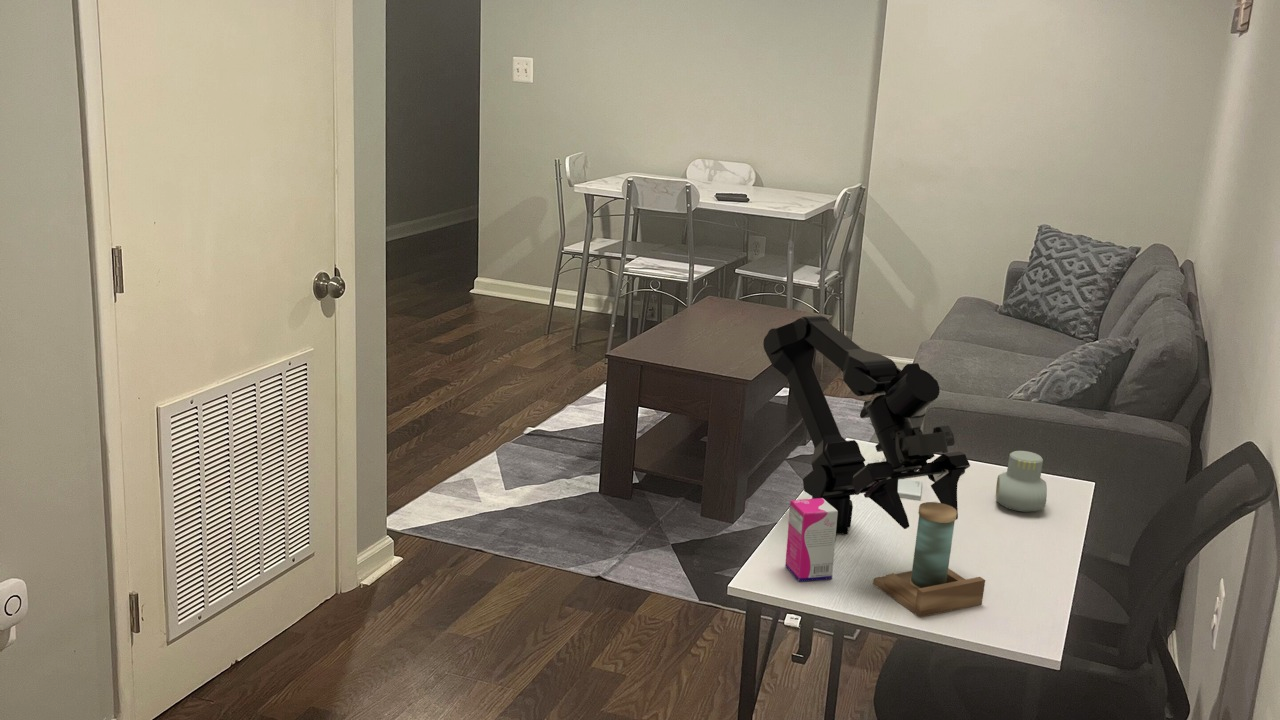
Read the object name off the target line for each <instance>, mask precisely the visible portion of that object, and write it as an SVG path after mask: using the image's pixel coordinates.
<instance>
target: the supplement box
mask: <svg viewBox="0 0 1280 720" xmlns="http://www.w3.org/2000/svg"><path fill="white" fill-rule="evenodd" d="M789 502H790V503H789V515H788V527H787V528H788V529H787V539H786V554H785V567H786V568H787V569H788V571H789V572H790V574H792V575H793V576H794V578H795V579H796V580H797V581H798V582H801V583H802V582H810V581H811V582H812V581H813V582H814V581H823V580H833V572H834V571H833V570H834V562H835V560H834V559H835V549H836V548H835V547H836V536H837V534H836V527H837V515H838V511H837V510H836V509H835V508H834V507H832V506H831V505H830V504H829V503H828V502H827V501H826V500H825V499H823V498H816V499H812V498H806V499H805V498H804V499H792V500H790V501H789Z"/></svg>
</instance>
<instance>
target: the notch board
mask: <svg viewBox="0 0 1280 720" xmlns="http://www.w3.org/2000/svg"><path fill="white" fill-rule="evenodd" d="M911 575H912V570H910V571H904V572H898V573H894V572H893V573H888V574H885V575H884V576H878V577H873V582H872V584H873V585H874V586H875V587H876V588H878V589H880V590H881V591H882V592H884V593H885V594H886V595H888V596H889V597H891V598H892V599H893V600H895V601H897V602H898V603H899V604H901V606H903V607H905V608H906V609H907V610H909V611H910V612H911V613H913V614H914V615H915V616H917V617H918V618H922V617H927V616H932V615H937V614H942V613H946V612H947V613H948V612H951V611H955V610H960V609H966V608H971V607H976V606H979V605H983V599H984V592H985V585H986V579H984V578H983V577H982V576H976V577H971V578H964V577H963V576H961V575H960V574H958V573H957V572H955V571H953V570H952V569H951V568H949V567H948V574H947V581H946V583H945V584H940V585H935V586H930V587H924V588H919V589H915V588H914V587H913V586H911V585H910V584H909V583H910V578H911Z"/></svg>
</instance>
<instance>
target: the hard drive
mask: <svg viewBox="0 0 1280 720" xmlns="http://www.w3.org/2000/svg"><path fill="white" fill-rule="evenodd" d="M922 489H923V481H920V480H915V479H909V478H906V479H899V480H898V494H899V496H900V499H907V500H913V501H921V499H922V498H921V497H922Z"/></svg>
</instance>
